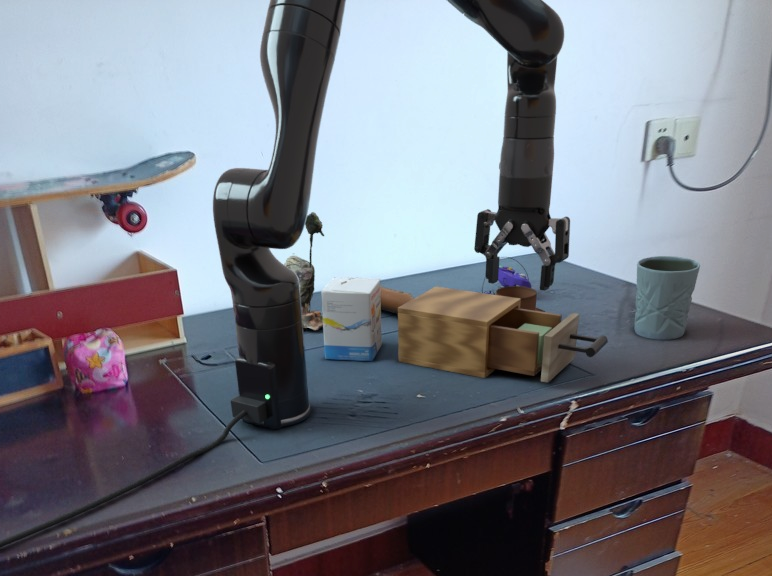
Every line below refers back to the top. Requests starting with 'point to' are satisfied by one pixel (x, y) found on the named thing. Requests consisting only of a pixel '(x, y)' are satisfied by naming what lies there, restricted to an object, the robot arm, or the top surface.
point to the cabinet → (450, 329)
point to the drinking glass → (664, 296)
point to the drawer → (536, 343)
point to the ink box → (352, 318)
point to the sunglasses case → (393, 299)
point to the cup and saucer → (521, 296)
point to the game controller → (511, 277)
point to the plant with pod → (307, 276)
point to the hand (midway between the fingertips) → (518, 285)
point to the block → (542, 332)
